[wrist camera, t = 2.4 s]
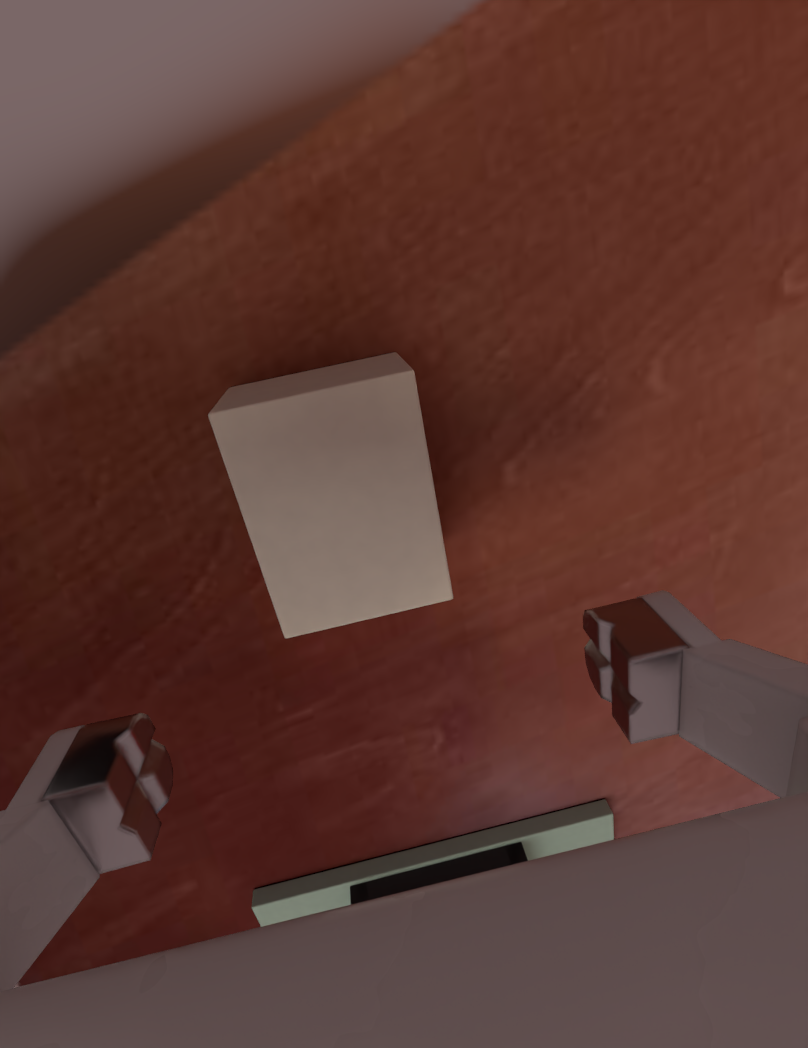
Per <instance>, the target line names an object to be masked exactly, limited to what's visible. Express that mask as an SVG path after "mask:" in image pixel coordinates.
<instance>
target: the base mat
mask: <svg viewBox="0 0 808 1048" xmlns="http://www.w3.org/2000/svg"><path fill="white" fill-rule="evenodd" d="M610 840H614V827H613V813H612V811H611V809H610V807H609V805H608V803H607V802H606V800H605V799H603V800H599V801H596V802H592V803H588V804H584V805H580V806H576V807H572V808H568V809H565V810H561V811H557V812H553V813H549V814H545V815H541V816H537V817H534V818H530V819H526V820H522V821H518V822H514V823H510V824H506V825H503V826H499V827H495V828H491V829H487V830H483V831H479V832H475V833H472V834H468V835H464V836H460V837H456V838H452V839H448V840H444V841H441V842H437V843H433V844H429V845H425V846H421V847H417V848H413V849H410V850H406V851H402V852H398V853H394V854H390V855H386V856H382V857H379V858H375V859H371V860H367V861H363V862H359V863H355V864H351V865H348V866H344V867H340V868H336V869H332V870H328V871H324V872H320V873H317V874H313V875H309V876H305V877H301V878H297V879H293V880H289V881H286V882H282V883H278V884H274V885H270V886H266V887H262V888H258V889H255V890H254V891H253V900H252V910H253V912H254V913H255V915H256V917H257V919H258V921H259V923H260V925H261V927H263V926H267V925H271V924H275V923H279V922H283V921H287V920H291V919H295V918H299V917H303V916H307V915H311V914H315V913H319V912H323V911H327V910H331V909H335V908H339V907H343V906H347V905H352V904H356V903H360V902H364V901H368V900H372V899H376V898H380V897H384V896H388V895H392V894H396V893H400V892H404V891H408V890H412V889H416V888H420V887H424V886H428V885H432V884H436V883H440V882H444V881H448V880H452V879H456V878H460V877H464V876H469V875H473V874H477V873H481V872H485V871H489V870H493V869H497V868H501V867H505V866H509V865H513V864H517V863H521V862H525V861H529V860H533V859H537V858H541V857H545V856H549V855H553V854H557V853H561V852H565V851H569V850H573V849H577V848H581V847H586V846H590V845H594V844H598V843H602V842H606V841H610Z"/></svg>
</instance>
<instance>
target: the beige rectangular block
mask: <svg viewBox="0 0 808 1048" xmlns="http://www.w3.org/2000/svg"><path fill="white" fill-rule="evenodd" d="M208 417H209V420H210V423H211V426H212V429H213V432H214V435H215V438H216V440H217V443H218V446H219V449H220V452H221V455H222V458H223V461H224V464H225V467H226V469H227V472H228V475H229V478H230V481H231V484H232V487H233V490H234V493H235V495H236V498H237V501H238V504H239V507H240V510H241V513H242V516H243V519H244V522H245V524H246V527H247V530H248V533H249V536H250V539H251V542H252V545H253V548H254V551H255V553H256V556H257V559H258V562H259V565H260V568H261V571H262V574H263V577H264V580H265V582H266V585H267V588H268V591H269V594H270V597H271V600H272V603H273V606H274V609H275V611H276V614H277V617H278V620H279V623H280V626H281V629H282V632H283V635H284V637H285V638H291V637H295V636H299V635H304V634H308V633H312V632H316V631H321V630H325V629H329V628H333V627H337V626H342V625H346V624H350V623H354V622H359V621H363V620H367V619H371V618H375V617H380V616H384V615H388V614H392V613H397V612H401V611H405V610H409V609H413V608H418V607H422V606H426V605H430V604H435V603H439V602H443V601H447V600H452V599H453V593H452V587H451V581H450V576H449V570H448V564H447V558H446V552H445V547H444V541H443V535H442V529H441V524H440V518H439V512H438V506H437V500H436V495H435V489H434V483H433V477H432V471H431V466H430V460H429V454H428V448H427V443H426V437H425V431H424V425H423V419H422V414H421V408H420V402H419V396H418V391H417V385H416V379H415V373H414V370H413V369H412V368H411V367H410V366H409V365H408V364H407V363H406V362H405V361H404V360H403V359H402V358H401V357H400V356H399V355H398V354H397V353H396V352H393V353H389V354H384V355H379V356H375V357H370V358H365V359H361V360H356V361H351V362H347V363H342V364H337V365H333V366H328V367H323V368H319V369H314V370H309V371H305V372H300V373H295V374H290V375H286V376H281V377H276V378H272V379H267V380H262V381H258V382H253V383H248V384H244V385H239V386H234V387H230V388H228V390H227V391H226V392H225V393H224V395H223V396H222V397H221V399H220V400H219V401H218V402H217V404H216V405H215V406H214V407H213V409H212V410H211V411H210V412H209V414H208Z"/></svg>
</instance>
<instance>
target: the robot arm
mask: <svg viewBox="0 0 808 1048" xmlns="http://www.w3.org/2000/svg"><path fill="white" fill-rule="evenodd" d="M583 629H584V630H585V632H586V633H587V634H588V636H589V637H590V640H589V642H588V643H587V645H586V646H585V659H586V665H587V669H588V672H589V676H590V679H591V681H592V683H593V685H594V687H595V689H596V691H597V692H598V694H599V695H600V697H601V698H603V699H605V700H607V701H609V702H611V703H612V716H613V717H614V719H615V720H616V722H617V723H618V725H619V726H620V728H621V729H622V731H623V733H624V734H625V736H626V737H627V739H628V740H629V742H630V743H631V744H633V743H638V742H642V741H647V740H652V739H656V738H661V737H666V736H671V735H675V734H679V736H680V737H681V738H683V739H685V740H686V741H688V742H690V743H691V744H693V745H695V746H696V747H698V748H700V749H701V750H703V751H705V752H706V753H708V754H709V755H711V756H713V757H714V758H716V759H718V760H719V761H721V762H723V763H724V764H726V765H728V766H729V767H731V768H732V769H734V770H736V771H737V772H739V773H741V774H742V775H744V776H746V777H747V778H749V779H751V780H752V781H754V782H756V783H757V784H759V785H760V786H762V787H764V788H765V789H767V790H769V791H770V792H772V793H774V794H775V795H777V796H779V797H780V798H779V799H775V800H771V801H767V802H763V803H759V804H755V805H751V806H747V807H743V808H739V809H735V810H731V811H727V812H723V813H719V814H715V815H711V816H707V817H703V818H699V819H695V820H691V821H687V822H683V823H678V824H674V825H670V826H666V827H662V828H658V829H654V830H650V831H646V832H642V833H638V834H634V835H630V836H626V837H622V838H618V839H614V840H610V841H606V842H602V843H598V844H594V845H590V846H586V847H581V848H577V849H573V850H569V851H565V852H561V853H557V854H553V855H549V856H545V857H541V858H537V859H533V860H529V861H525V862H521V863H517V864H513V865H509V866H505V867H501V868H497V869H493V870H489V871H485V872H481V873H477V874H473V875H469V876H464V877H460V878H456V879H452V880H448V881H444V882H440V883H436V884H432V885H428V886H424V887H420V888H416V889H412V890H408V891H404V892H400V893H396V894H392V895H388V896H384V897H380V898H376V899H372V900H368V901H364V902H360V903H356V904H352V905H347V906H343V907H339V908H335V909H331V910H327V911H323V912H319V913H315V914H311V915H307V916H303V917H299V918H295V919H291V920H287V921H283V922H279V923H275V924H271V925H267V926H263V927H259V928H255V929H251V930H247V931H243V932H239V933H234V934H230V935H226V936H222V937H218V938H214V939H210V940H206V941H202V942H198V943H194V944H190V945H186V946H182V947H178V948H174V949H170V950H166V951H162V952H158V953H154V954H150V955H146V956H142V957H138V958H134V959H130V960H126V961H122V962H118V963H114V964H110V965H105V966H101V967H97V968H93V969H89V970H85V971H81V972H77V973H73V974H69V975H65V976H61V977H57V978H53V979H49V980H45V981H41V982H37V983H33V984H29V985H25V986H21V987H17V988H14V987H15V985H16V984H17V983H18V981H19V980H20V979H21V978H22V976H23V975H24V974H25V972H26V971H27V970H28V969H29V967H30V966H31V965H32V963H33V962H34V961H35V960H36V958H37V957H38V956H39V954H40V953H41V952H42V951H43V949H44V948H45V947H46V945H47V944H48V943H49V942H50V940H51V939H52V938H53V936H54V935H55V934H56V933H57V931H58V930H59V929H60V927H61V926H62V925H63V924H64V922H65V921H66V920H67V918H68V917H69V916H70V915H71V913H72V912H73V911H74V909H75V908H76V907H77V906H78V904H79V903H80V902H81V900H82V899H83V898H84V897H85V895H86V894H87V893H88V891H89V890H90V889H91V888H92V886H93V885H94V884H95V882H96V881H97V880H98V879H99V877H100V875H99V874H101V873H105V872H108V871H112V870H116V869H119V868H123V867H127V866H130V865H134V864H138V863H141V862H145V861H149V860H151V857H152V854H153V850H154V847H155V844H156V840H157V837H158V834H159V831H160V827H161V824H162V823H161V821H160V820H159V818H158V816H157V813H158V812H159V811H160V809H161V808H162V807H163V806H164V805H165V804H166V803H167V802H168V801H169V797H170V794H171V790H172V786H173V767H172V763H171V759H170V756H169V754H168V752H167V750H166V748H165V746H163V745H161V744H160V743H158V742H156V741H154V740H152V737H153V734H154V732H155V729H156V728H155V726H154V725H153V723H152V721H151V719H150V718H149V716H148V715H146V714H143V713H138V714H133V715H128V716H124V717H119V718H114V719H109V720H105V721H100V722H95V723H90V724H87V725H82V726H77V727H73V728H68V729H64V730H59V731H58V732H56V733H54V734H53V735H51V736H50V738H49V740H48V741H47V743H46V745H45V746H44V748H43V749H42V751H41V753H40V754H39V756H38V758H37V759H36V761H35V763H34V764H33V766H32V768H31V769H30V771H29V773H28V774H27V776H26V778H25V779H24V781H23V783H22V784H21V786H20V787H19V789H18V791H17V792H16V794H15V796H14V797H13V799H12V801H11V802H10V804H9V806H8V807H7V809H6V810H4V811H0V1048H808V665H807V664H804V663H801V662H798V661H795V660H792V659H789V658H786V657H783V656H780V655H777V654H774V653H771V652H768V651H765V650H762V649H759V648H756V647H753V646H750V645H747V644H744V643H741V642H738V641H735V640H732V639H728V640H723V641H721V640H720V639H719V638H718V637H717V636H716V635H715V634H714V633H713V632H712V631H711V630H709V629H708V628H707V627H706V626H705V625H704V624H703V623H702V622H701V621H700V620H699V619H697V618H696V617H695V616H694V615H693V614H692V613H691V612H690V611H689V610H688V609H687V608H686V607H684V606H683V605H682V604H681V603H680V602H679V601H678V600H677V599H676V598H675V597H674V596H672V595H671V594H670V593H669V592H667V591H664V590H662V591H658V592H654V593H650V594H647V595H643V596H639V597H637V598H635V599H630V600H626V601H622V602H618V603H613V604H609V605H605V606H601V607H596V608H592V609H588V610H585V611H584V615H583Z"/></svg>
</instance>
